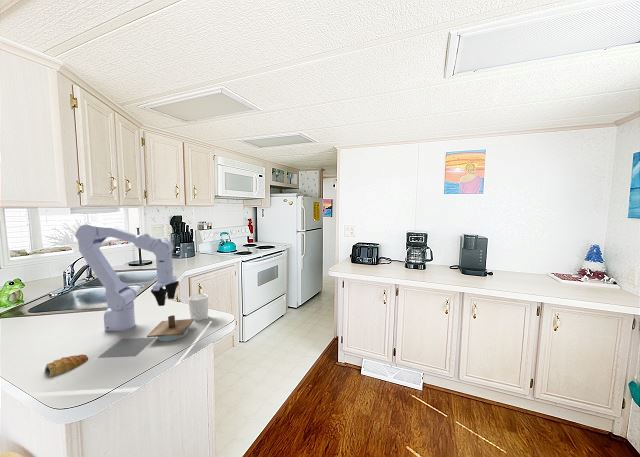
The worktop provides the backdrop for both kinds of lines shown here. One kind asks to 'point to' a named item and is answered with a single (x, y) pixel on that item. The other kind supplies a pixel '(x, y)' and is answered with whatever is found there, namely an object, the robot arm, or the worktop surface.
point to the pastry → (65, 364)
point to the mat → (127, 347)
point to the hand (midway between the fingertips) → (166, 302)
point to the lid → (171, 327)
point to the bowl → (171, 337)
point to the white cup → (198, 306)
